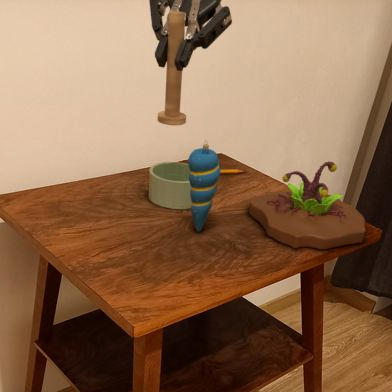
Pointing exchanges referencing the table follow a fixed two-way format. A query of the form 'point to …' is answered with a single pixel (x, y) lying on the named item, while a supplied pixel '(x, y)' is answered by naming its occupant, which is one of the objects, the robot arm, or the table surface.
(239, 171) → the pencil
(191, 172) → the ornament
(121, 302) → the table surface
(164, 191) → the bowl
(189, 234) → the table surface
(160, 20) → the robot arm
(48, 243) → the table surface
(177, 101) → the stick
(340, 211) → the plant
